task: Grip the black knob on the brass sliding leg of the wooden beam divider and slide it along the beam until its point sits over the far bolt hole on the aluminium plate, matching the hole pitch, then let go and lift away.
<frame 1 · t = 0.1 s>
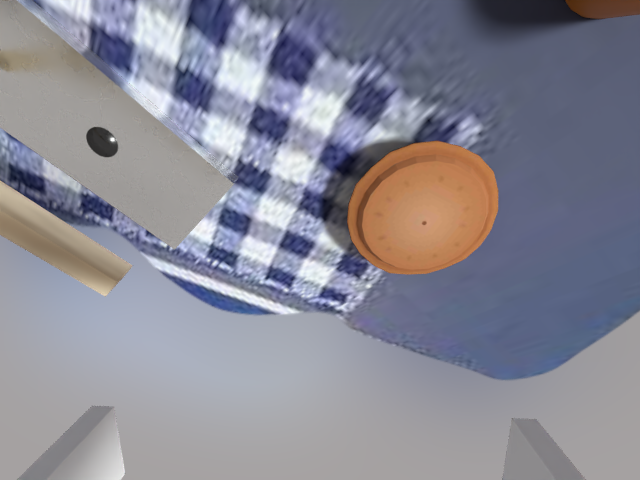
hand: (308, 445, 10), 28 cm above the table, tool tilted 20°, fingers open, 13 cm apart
hole plate: (57, 93, 31), on the table
pie: (412, 201, 36), on the table
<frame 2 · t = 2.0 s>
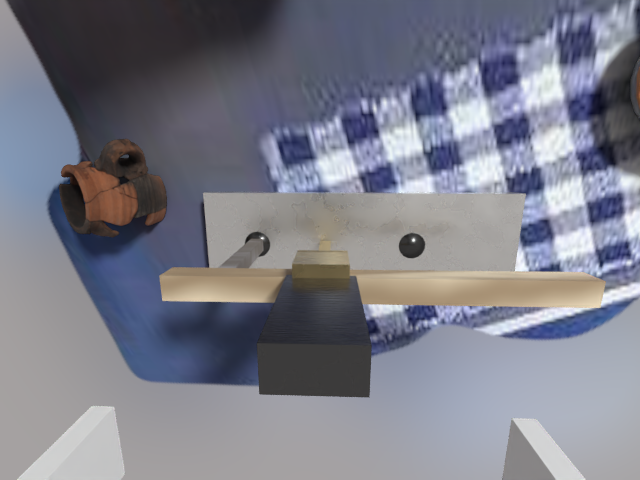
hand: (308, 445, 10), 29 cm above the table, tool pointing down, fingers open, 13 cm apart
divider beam: (366, 263, 30), on the hole plate, point 9 cm above the table
broken clay pot: (133, 187, 38), on the table
hole plate: (358, 241, 38), on the table
sliding leg: (322, 280, 25), point 14 cm above the table, slide at 8.0 cm
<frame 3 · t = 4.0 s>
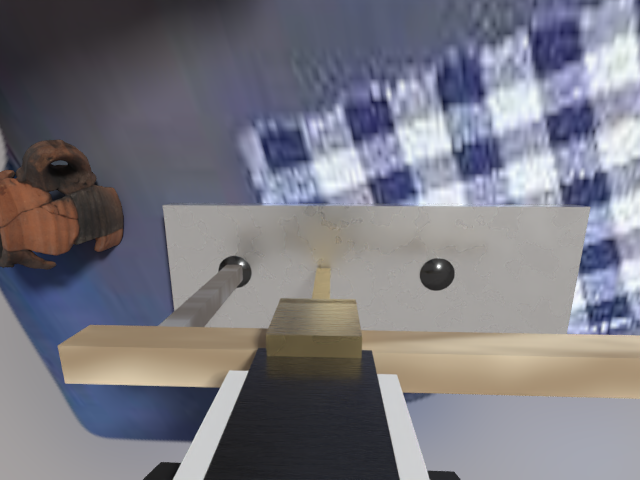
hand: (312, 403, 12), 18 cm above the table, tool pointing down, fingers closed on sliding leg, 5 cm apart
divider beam: (380, 307, 21), on the hole plate, point 9 cm above the table
broken clay pot: (81, 202, 30), on the table
hole plate: (366, 266, 30), on the table
sliding leg: (317, 345, 16), point 14 cm above the table, slide at 8.0 cm, touching gripper
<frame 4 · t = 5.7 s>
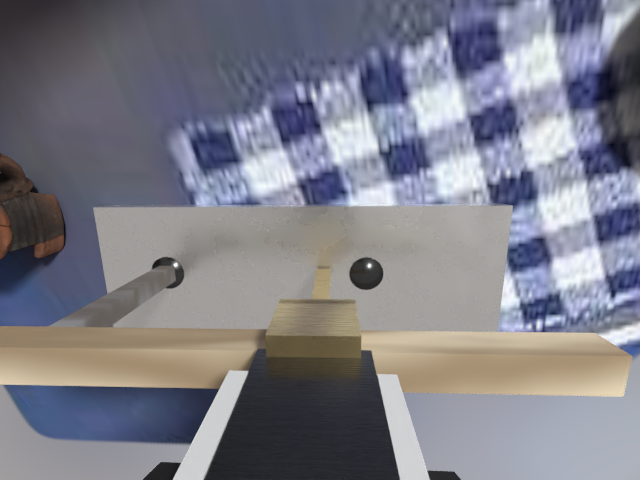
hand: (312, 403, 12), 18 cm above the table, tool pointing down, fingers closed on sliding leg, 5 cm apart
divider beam: (288, 306, 21), on the hole plate, point 9 cm above the table
broken clay pot: (23, 209, 30), on the table
hole plate: (301, 266, 30), on the table
sliding leg: (317, 346, 16), point 14 cm above the table, slide at 14.2 cm, touching gripper
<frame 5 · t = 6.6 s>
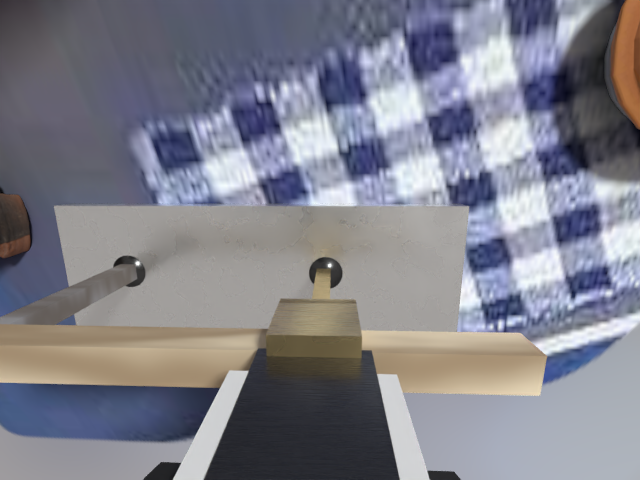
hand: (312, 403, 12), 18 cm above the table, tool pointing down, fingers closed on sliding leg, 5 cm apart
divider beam: (235, 305, 21), on the hole plate, point 9 cm above the table
hole plate: (263, 266, 30), on the table
sliding leg: (317, 346, 16), point 14 cm above the table, slide at 17.8 cm, touching gripper
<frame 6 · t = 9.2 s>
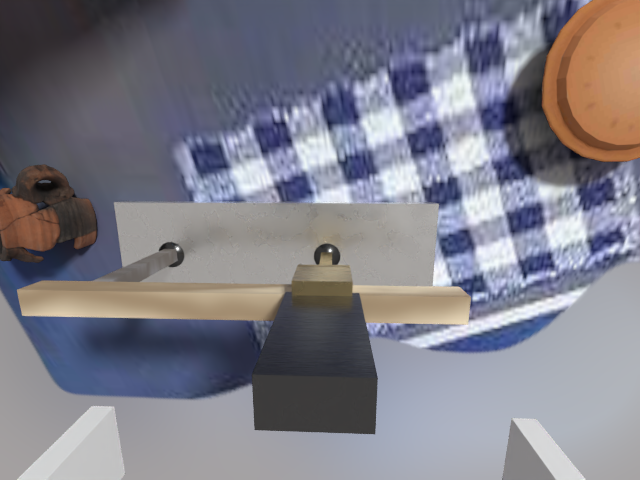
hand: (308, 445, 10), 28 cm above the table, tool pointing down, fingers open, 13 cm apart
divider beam: (260, 275, 29), on the hole plate, point 9 cm above the table
broken clay pot: (64, 210, 38), on the table
hole plate: (277, 251, 38), on the table
sliding leg: (323, 296, 24), point 14 cm above the table, slide at 18.0 cm
pie: (595, 87, 33), on the table
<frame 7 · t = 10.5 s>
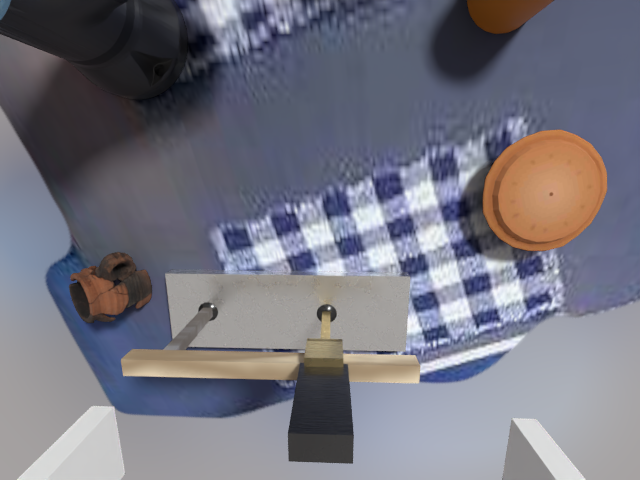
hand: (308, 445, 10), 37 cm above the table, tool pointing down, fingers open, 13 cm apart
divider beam: (279, 337, 40), on the hole plate, point 9 cm above the table
broken clay pot: (125, 277, 49), on the table
hole plate: (288, 307, 49), on the table
sliding leg: (324, 360, 35), point 14 cm above the table, slide at 18.0 cm
pie: (526, 191, 44), on the table
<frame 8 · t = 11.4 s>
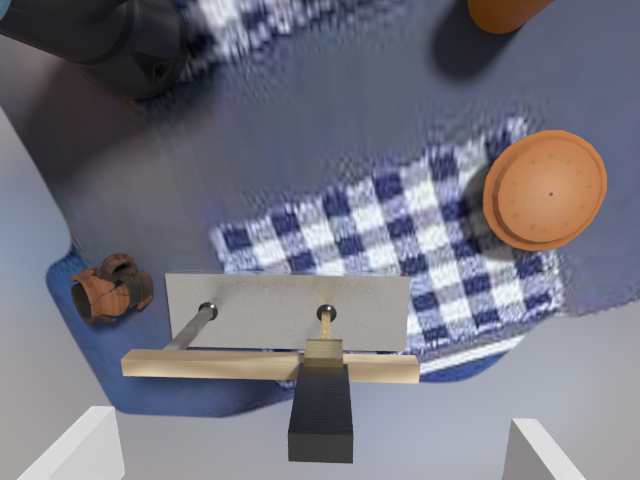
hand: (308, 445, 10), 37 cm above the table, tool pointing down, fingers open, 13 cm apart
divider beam: (278, 337, 40), on the hole plate, point 9 cm above the table
broken clay pot: (127, 278, 49), on the table
hole plate: (288, 307, 49), on the table
sliding leg: (324, 360, 35), point 14 cm above the table, slide at 18.0 cm
pie: (525, 191, 44), on the table
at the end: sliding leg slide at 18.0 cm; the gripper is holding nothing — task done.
